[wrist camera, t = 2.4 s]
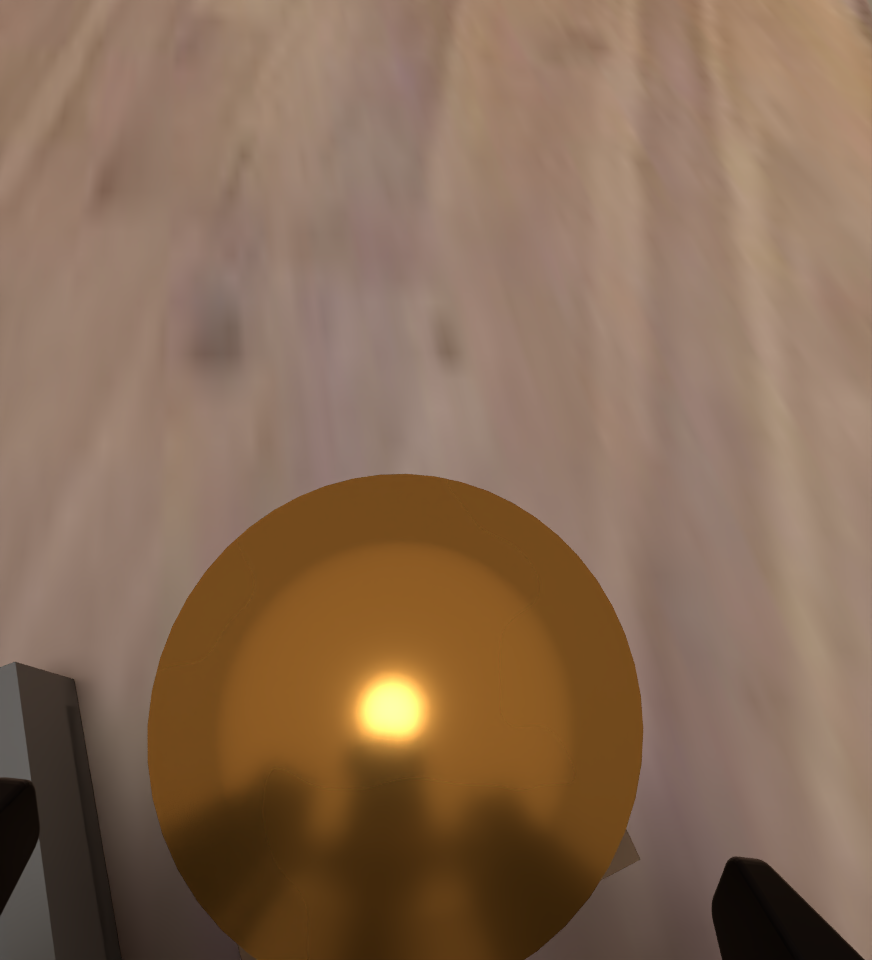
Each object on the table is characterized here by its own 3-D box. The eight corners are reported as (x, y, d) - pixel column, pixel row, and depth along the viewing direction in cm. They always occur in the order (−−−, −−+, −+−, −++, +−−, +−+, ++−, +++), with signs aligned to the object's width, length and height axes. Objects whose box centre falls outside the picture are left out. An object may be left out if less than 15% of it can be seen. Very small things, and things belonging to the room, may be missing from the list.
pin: (488, 794, 17) (737, 845, 5) (346, 861, 16) (219, 1129, 4) (432, 652, 18) (516, 422, 6) (299, 707, 17) (104, 559, 5)
